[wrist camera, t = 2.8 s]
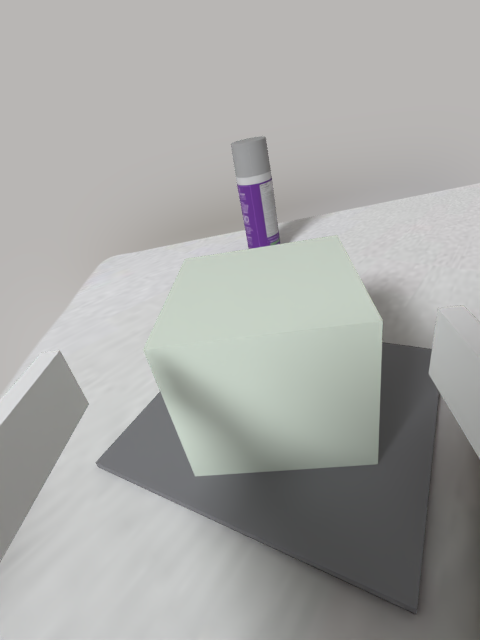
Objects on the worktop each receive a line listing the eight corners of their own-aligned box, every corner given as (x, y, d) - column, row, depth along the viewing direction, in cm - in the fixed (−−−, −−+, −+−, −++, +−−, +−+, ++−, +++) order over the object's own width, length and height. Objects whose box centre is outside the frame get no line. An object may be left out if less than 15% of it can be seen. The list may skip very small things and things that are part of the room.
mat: (225, 324, 37) (224, 321, 37) (442, 355, 28) (443, 350, 28) (98, 467, 25) (95, 462, 25) (416, 614, 15) (417, 609, 15)
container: (243, 255, 53) (222, 145, 45) (262, 243, 56) (245, 138, 48) (268, 259, 50) (250, 142, 42) (287, 246, 53) (273, 134, 45)
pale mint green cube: (214, 363, 31) (185, 258, 26) (342, 349, 30) (337, 235, 25) (195, 476, 22) (143, 349, 17) (378, 464, 21) (382, 320, 15)
